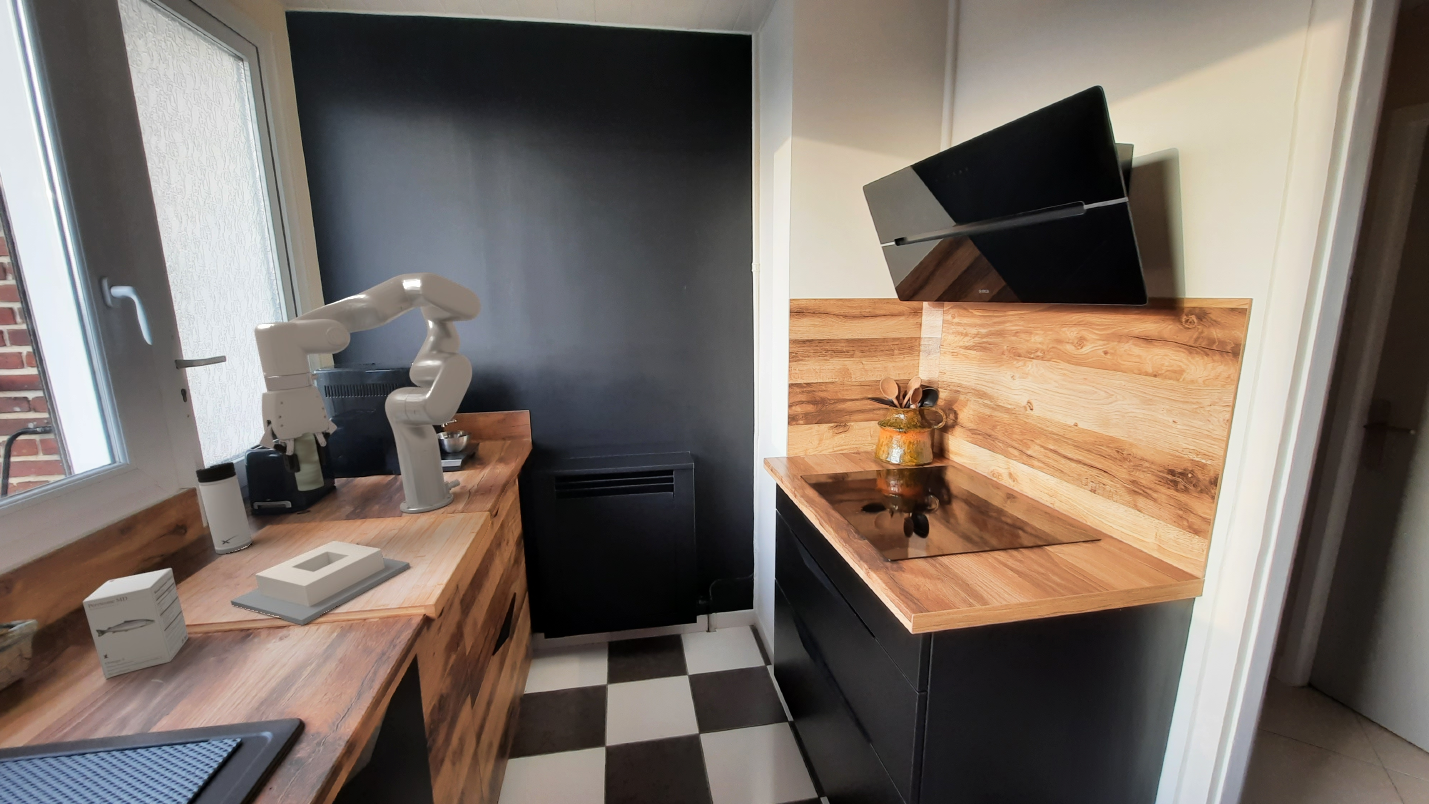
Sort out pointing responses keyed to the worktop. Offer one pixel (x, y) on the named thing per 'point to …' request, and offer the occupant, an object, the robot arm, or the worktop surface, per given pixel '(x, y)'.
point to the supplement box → (136, 622)
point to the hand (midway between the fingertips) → (307, 467)
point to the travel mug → (224, 507)
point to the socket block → (318, 581)
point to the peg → (307, 463)
